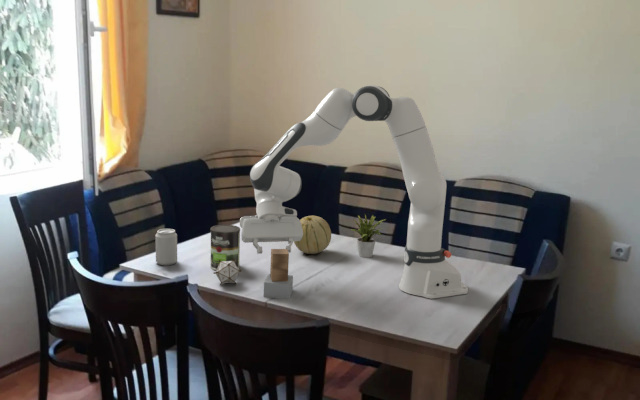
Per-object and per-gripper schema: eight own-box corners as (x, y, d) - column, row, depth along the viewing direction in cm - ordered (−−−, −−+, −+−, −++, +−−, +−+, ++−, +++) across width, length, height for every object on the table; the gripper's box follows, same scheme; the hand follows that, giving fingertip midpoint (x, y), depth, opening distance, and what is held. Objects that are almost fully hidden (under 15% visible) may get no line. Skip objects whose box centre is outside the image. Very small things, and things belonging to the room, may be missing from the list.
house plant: (383, 263, 235) (386, 220, 232) (346, 260, 237) (348, 218, 234) (385, 252, 249) (388, 211, 246) (350, 249, 251) (352, 209, 248)
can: (151, 264, 225) (151, 231, 222) (162, 258, 232) (161, 226, 229) (171, 267, 223) (171, 234, 220) (181, 260, 230) (180, 228, 227)
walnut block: (285, 275, 204) (286, 248, 202) (287, 281, 199) (288, 253, 197) (270, 275, 203) (271, 248, 201) (271, 281, 199) (272, 253, 197)
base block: (292, 290, 206) (293, 275, 205) (289, 299, 198) (289, 284, 197) (268, 288, 207) (268, 273, 206) (263, 297, 199) (263, 282, 198)
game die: (230, 296, 209) (234, 278, 201) (207, 284, 209) (210, 267, 202) (243, 276, 215) (247, 259, 207) (220, 265, 215) (224, 247, 208)
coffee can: (232, 273, 219) (232, 233, 216) (205, 269, 222) (205, 230, 219) (244, 264, 229) (245, 226, 226) (218, 260, 232) (218, 223, 229)
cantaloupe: (332, 248, 252) (333, 211, 248) (328, 260, 237) (330, 221, 234) (294, 246, 253) (296, 209, 250) (289, 257, 239) (290, 218, 235)
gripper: (240, 211, 209) (243, 248, 202) (301, 210, 214) (306, 246, 207) (238, 221, 214) (241, 257, 207) (297, 219, 219) (303, 255, 212)
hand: (274, 252), depth 207 cm, fingers open, 8 cm apart
